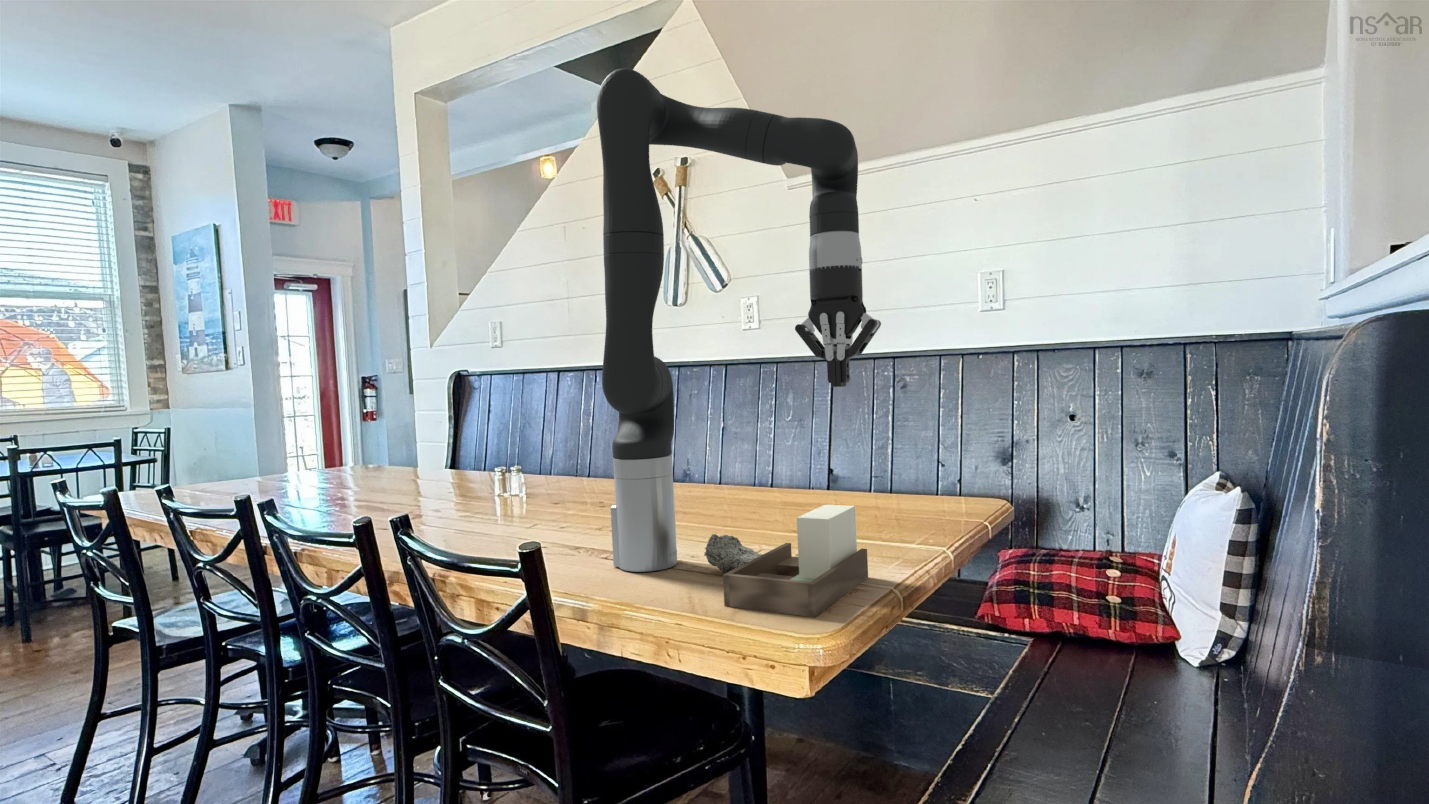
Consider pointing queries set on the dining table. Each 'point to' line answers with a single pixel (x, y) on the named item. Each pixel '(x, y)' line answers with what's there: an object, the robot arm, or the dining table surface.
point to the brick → (825, 538)
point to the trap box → (791, 583)
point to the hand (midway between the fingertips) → (839, 386)
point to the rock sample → (728, 552)
